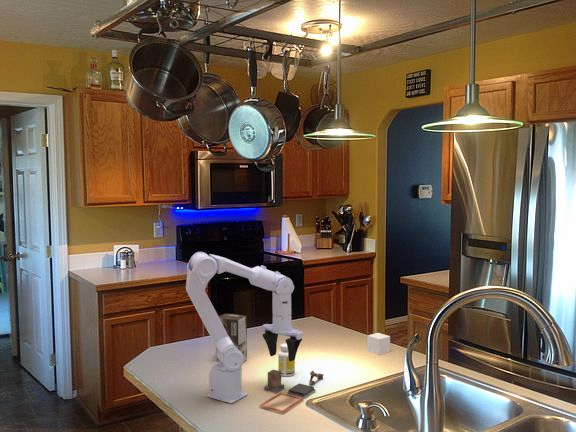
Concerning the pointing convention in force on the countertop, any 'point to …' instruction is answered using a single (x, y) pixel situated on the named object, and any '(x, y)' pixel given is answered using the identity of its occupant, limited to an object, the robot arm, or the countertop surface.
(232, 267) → the robot arm
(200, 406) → the countertop surface
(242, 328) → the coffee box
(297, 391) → the ink pad
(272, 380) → the stamp
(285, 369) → the supplement bottle
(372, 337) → the white cube
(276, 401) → the red rimmed tray
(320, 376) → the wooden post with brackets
